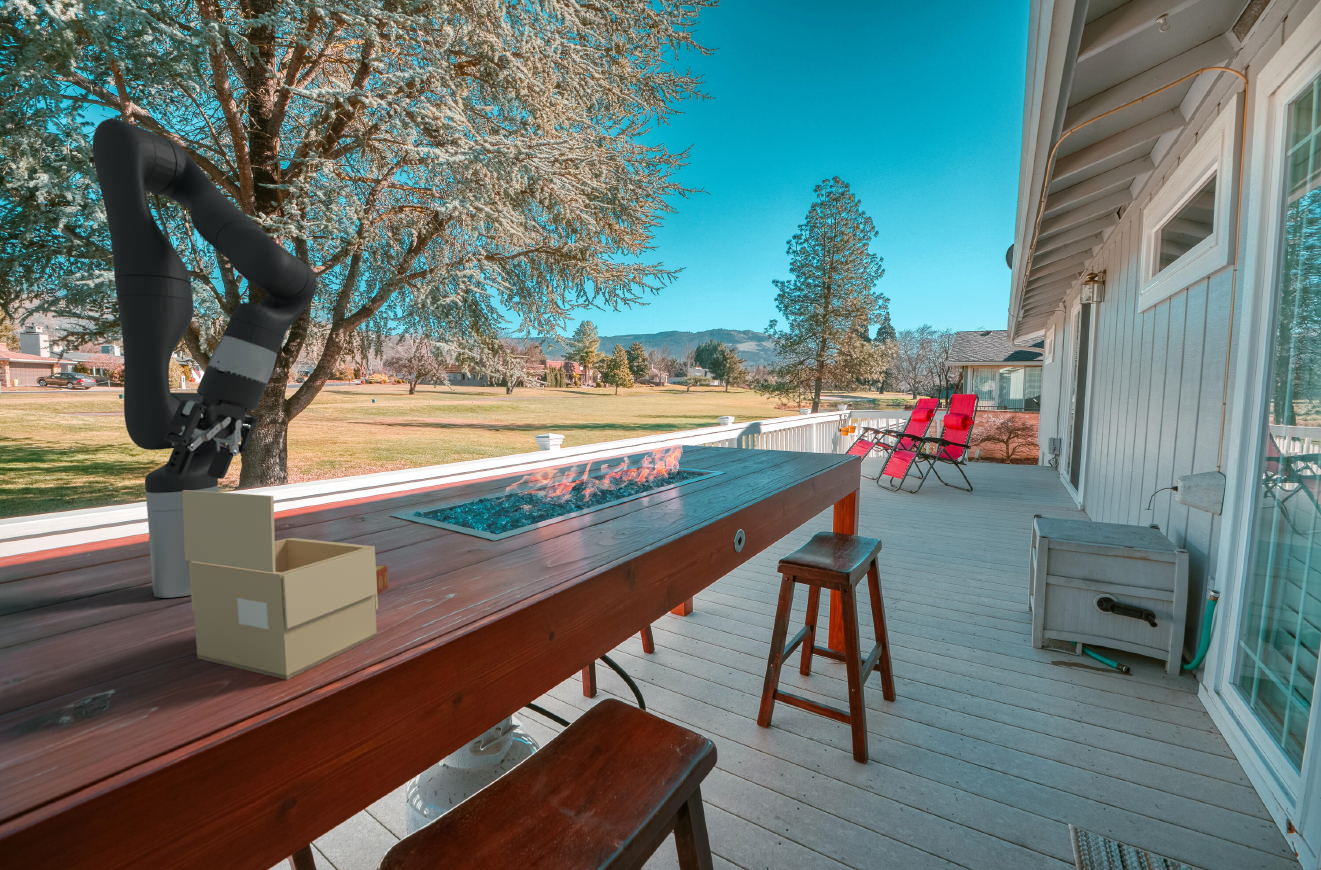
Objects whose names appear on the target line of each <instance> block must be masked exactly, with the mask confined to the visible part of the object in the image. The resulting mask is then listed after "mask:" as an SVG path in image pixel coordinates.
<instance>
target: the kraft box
mask: <svg viewBox="0 0 1321 870" xmlns="http://www.w3.org/2000/svg"><path fill="white" fill-rule="evenodd" d="M376 565H377V563H376V547H375V546H374V545H364V544H355V543H347V542H346V543H345V542H338V541H337V542H335V541H326V540H316V539H306V538H300V537H299V538H297V537H291V538H290V537H288V538H284V539H279V540H275V568H276V572H273V573H272V572H265V571H258V570H251V569H244V568H237V567H230V566H222V565H215V564H208V563H201V562H194V561H191V562H189V572H190V585H191V595H190V597H191V609H192V611H193V614H194V615H193V616H194V626H195V643H196V655H197V659H199V660H203V661H207V662H211V663H216V664H221V665H224V666H229V667H231V668H232V667H233V668H237V669H241V670H243V671H244V670H245V671H249V672H254V673H258V674H262V675H265V676H270V677H274V678H277V679H282V680H286V681H287V680H290V679H292V678H294V677H296V676H298V675H300V674H302V673H305V672H306V671H308V670H310V669H312V668H315V667H317V666H319V665H321V664H323V663H325V662H327V661H329V660H331V659H333V658H336V657H337V656H340V655H341V654H344V653H345V652H348V651H350V650H352V649H354V648H357V647H358V646H360V645H362V644H364V643H367V642H369V641H371V640H373V639H375V638H377V637H378V633H377V631H378V630H377V629H378V628H377V615H376V614H377V613H376V610H378V609H379V604H378V603H379V600H378V599H379V598H378V595H377V579H376Z"/></svg>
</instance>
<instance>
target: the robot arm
mask: <svg viewBox="0 0 1321 870" xmlns="http://www.w3.org/2000/svg"><path fill="white" fill-rule="evenodd" d="M92 157H93V164H94V168H95V172H96V177H97V180H98V181H97V182H98V185H99V189H100V193H101V198H102V202H103V205H104V209H105V215H106V220H107V224H108V231H109V237H110V244H111V251H112V260H113V261H112V263H113V277H114V283H115V293H116V300H117V306H118V311H119V317H120V319H119V320H120V327H121V329H120V330H121V337H122V338H121V339H122V350H123V365H124V367H123V368H124V371H123V375H124V377H123V378H124V379H123V411H124V412H123V415H124V416H123V417H124V422H125V427H126V431H127V433H128V436H129V438H130V440H132V442H133V443H134V444H135V445H136V446H138V448H140V449H143V450H147V451H159V450H170V449H171V450H172V451H171V454H170V456H169V459H168V461H167V462H166V463H165V464H164V465H161V467H159V468H156V469H154V470H152V471H150V472H148V473H147V474H146V476H145V478H144V486H145V499H146V509H147V511H146V512H147V523H148V524H147V525H148V536H149V537H148V544H149V545H148V546H149V557H150V571H151V582H152V583H151V584H152V586H151V587H152V592H153V596H154V597H155V598H162V599H164V598H165V599H166V598H178V597H185V596H186V597H187V596H191V585H190V572H189V562H191V561H187V560H185V548H184V518H183V490H191V491H206V492H219V480H218V479H220V480H221V479H225V477H226V475H227V473H228V471H229V467H230V466H231V463H232V460H233V458H234V457H237V456H238V455H239V454H245V453H246V452H247V451H248V448H249V446H250V444H251V443H250V442H251V440H252V437H253V434H254V432H255V429H256V427H257V424H258V422H259V421H258V420H259V419H258V417H255V416H251V415H249V414H247V410H251V411H253V410H254V411H255V410H257V409H258V407H259V404H260V402H261V399H262V397H263V395H264V393H265V391H266V389H267V386H268V382H269V381H270V378H271V376H272V373H273V371H274V368H275V364H276V359H277V357H278V354H279V351H280V350H281V349H280V348H281V346H282V344H283V342H284V338H286V337H285V335H286V334H287V331H288V330H289V329H290V327H291V326H292V325H293V324H294V323H295V322H296V321H297V319H298V318H299V317H300V316H301V315H302V313H303V312H304V310H305V309H306V308H307V307H308V305H309V304H310V303H311V301H312V300H313V298H314V297H315V294H316V291H317V287H318V284H317V282H318V281H317V280H318V279H317V276H316V273H315V272H314V270H313V269H312V267H311V266H309V265H308V264H307V263H305V262H304V261H303V260H301V259H300V258H298V257H296V256H295V255H294V254H293V253H291V252H290V251H288V250H286V249H285V248H284V247H283V246H281V245H280V244H278V243H277V242H276V241H275V240H274V239H272V238H271V237H270V236H269V235H268V233H267V232H266V231H265V229H262V227H261V226H259V225H258V224H257V223H256V222H255V221H254V220H252V218H250V217H249V216H248V215H247V214H245V212H243V211H242V210H241V209H239V208H238V207H237V206H236V205H235V204H234V203H233V202H231V201H230V200H229V199H228V198H227V197H226V196H225V195H224V194H223V193H222V192H221V190H219V189H218V188H217V186H216V185H215V184H214V183H213V182H212V180H211V179H210V178H209V177H208V176H207V175H206V173H205V172H204V171H203V170H202V168H201V167H200V166H199V165H198V163H197V162H196V161H195V160H194V159H193V157H192V156H191V155H190V154H189V153H188V152H187V151H186V150H185V149H184V148H183V147H182V146H180V145H179V144H177V142H174V141H173V140H171V139H169V138H166V137H164V136H162V135H159V134H157V133H154V132H152V131H150V130H148V129H146V128H143V127H140V126H137V125H135V124H133V123H131V122H126V121H124V120H121V119H117V118H107V119H105V120H103V121H100V122H99V124H98V125H97V127H96V129H95V131H94V134H93V137H92ZM147 192H148V193H151V194H154V195H159V196H164V197H167V198H170V199H171V200H173V201H174V202H176V203H179V204H180V205H182V206H183V207H185V208H186V209H187V210H188V211H189V215H190V220H191V223H192V225H193V227H194V228H195V230H196V231H197V233H198V234H199V235H200V236H201V237H202V238H203V239H204V240H205V242H207V243H208V244H209V245H210V246H212V247H213V248H214V249H215V250H216V251H217V252H218V253H220V254H221V255H222V256H224V258H226V259H227V260H228V262H229V263H230V264H231V265H232V267H233V268H234V269H235V270H236V271H237V272H238V273H239V274H240V275H241V276H242V277H243V278H244V279H246V280H247V281H248V282H249V283H250V284H252V285H253V286H255V287H257V288H259V290H262V291H264V292H265V293H267V294H266V296H265V297H264V298H263V299H262V300H261V301H260V302H259V303H258V304H256V303H252V302H241V303H239V304H237V306H235V308H234V310H233V312H232V313H231V316H230V318H229V321H228V323H227V325H226V328H225V330H224V332H223V334H222V337H221V338H220V340H219V341H218V343H217V345H216V346H215V348H214V350H213V352H212V354H211V356H210V359H209V360H208V364H207V366H206V368H205V371H204V373H203V375H202V378H201V380H200V382H199V384H198V387H197V389H196V392H171V388H170V377H169V376H170V375H169V374H170V363H171V358H172V355H173V353H174V351H175V350H176V347H177V346H178V344H179V343H180V341H181V340H182V338H183V337H184V335H185V334H186V332H187V330H188V329H189V326H190V325H191V322H192V320H193V317H194V308H195V307H194V298H193V297H194V296H193V289H192V281H191V276H190V272H189V270H188V267H187V266H186V264H185V262H184V261H183V258H181V256H180V255H179V253H178V252H177V251H176V248H174V246H173V245H172V243H171V242H170V240H169V239H168V238H167V237H166V235H165V234H164V232H163V231H162V230H161V227H159V225H158V223H157V222H156V220H155V218H154V216H153V213H152V210H151V208H150V205H149V204H150V203H149V202H148V201H149V200H148V196H147ZM240 442H241V444H239V443H240Z"/></svg>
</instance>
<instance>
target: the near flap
mask: <svg viewBox="0 0 1321 870" xmlns="http://www.w3.org/2000/svg"><path fill="white" fill-rule="evenodd" d="M274 501H275V500H274V495H264V494H247V493H238V492H237V493H236V492H219V491H218V492H206V491H191V490H183V518H184V548H185V560H187V561H194V562H201V563H208V564H215V565H222V566H230V567H237V568H244V569H251V570H258V571H265V572H272V573H273V572H276V568H275V541H276V540H275V539H276V538H275V507H274V506H275V505H274V504H275V503H274Z"/></svg>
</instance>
